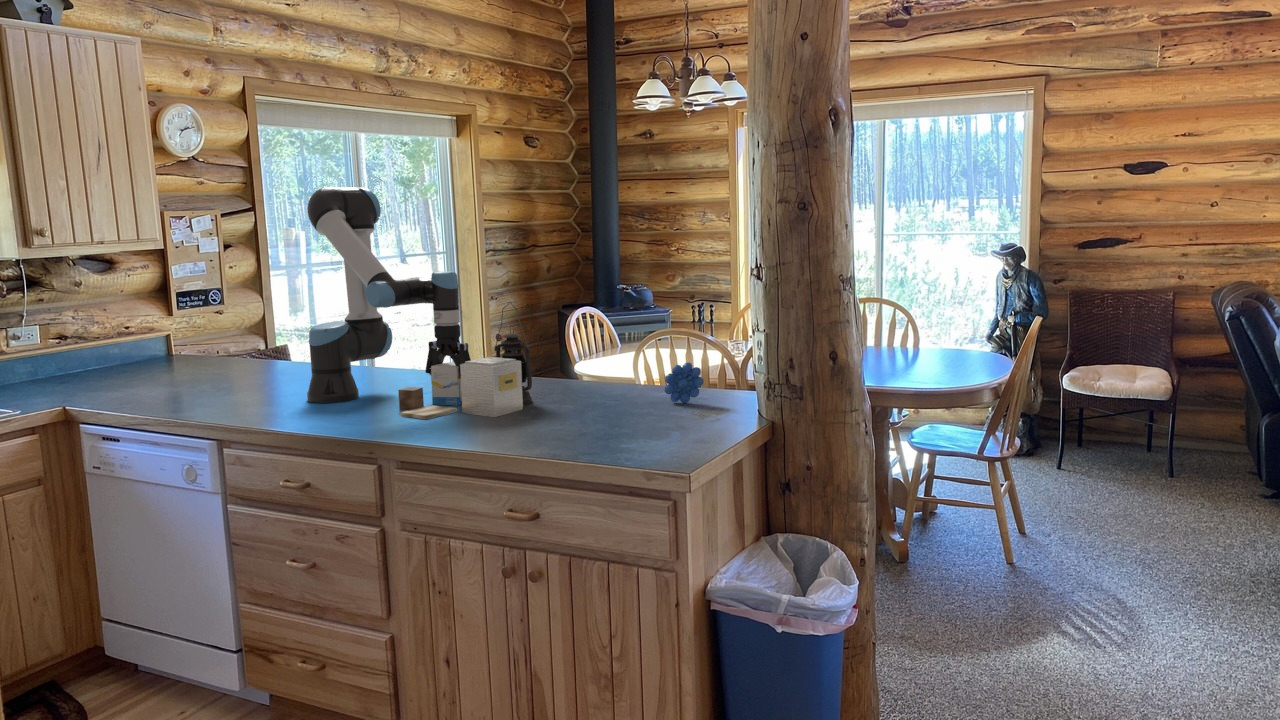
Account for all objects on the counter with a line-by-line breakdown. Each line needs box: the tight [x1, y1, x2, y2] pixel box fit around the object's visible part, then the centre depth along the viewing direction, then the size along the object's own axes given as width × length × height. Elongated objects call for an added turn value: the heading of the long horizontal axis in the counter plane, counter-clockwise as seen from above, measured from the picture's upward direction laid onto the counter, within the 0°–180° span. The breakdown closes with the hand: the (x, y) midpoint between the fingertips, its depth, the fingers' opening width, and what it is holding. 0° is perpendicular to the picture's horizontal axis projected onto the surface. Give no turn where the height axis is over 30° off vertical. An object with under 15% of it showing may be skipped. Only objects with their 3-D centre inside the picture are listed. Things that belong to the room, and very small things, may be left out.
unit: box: [460, 356, 524, 418], centre depth 269 cm, size 12×12×15 cm
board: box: [400, 404, 458, 420], centre depth 269 cm, size 10×12×1 cm
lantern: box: [494, 301, 533, 406], centre depth 280 cm, size 12×11×30 cm
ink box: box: [430, 361, 462, 407], centre depth 283 cm, size 9×8×12 cm
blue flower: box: [664, 362, 704, 404], centre depth 276 cm, size 12×7×12 cm, turn 74°
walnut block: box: [397, 386, 425, 412], centre depth 276 cm, size 5×5×6 cm
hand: (450, 398), depth 284 cm, fingers closed on ink box, 10 cm apart
